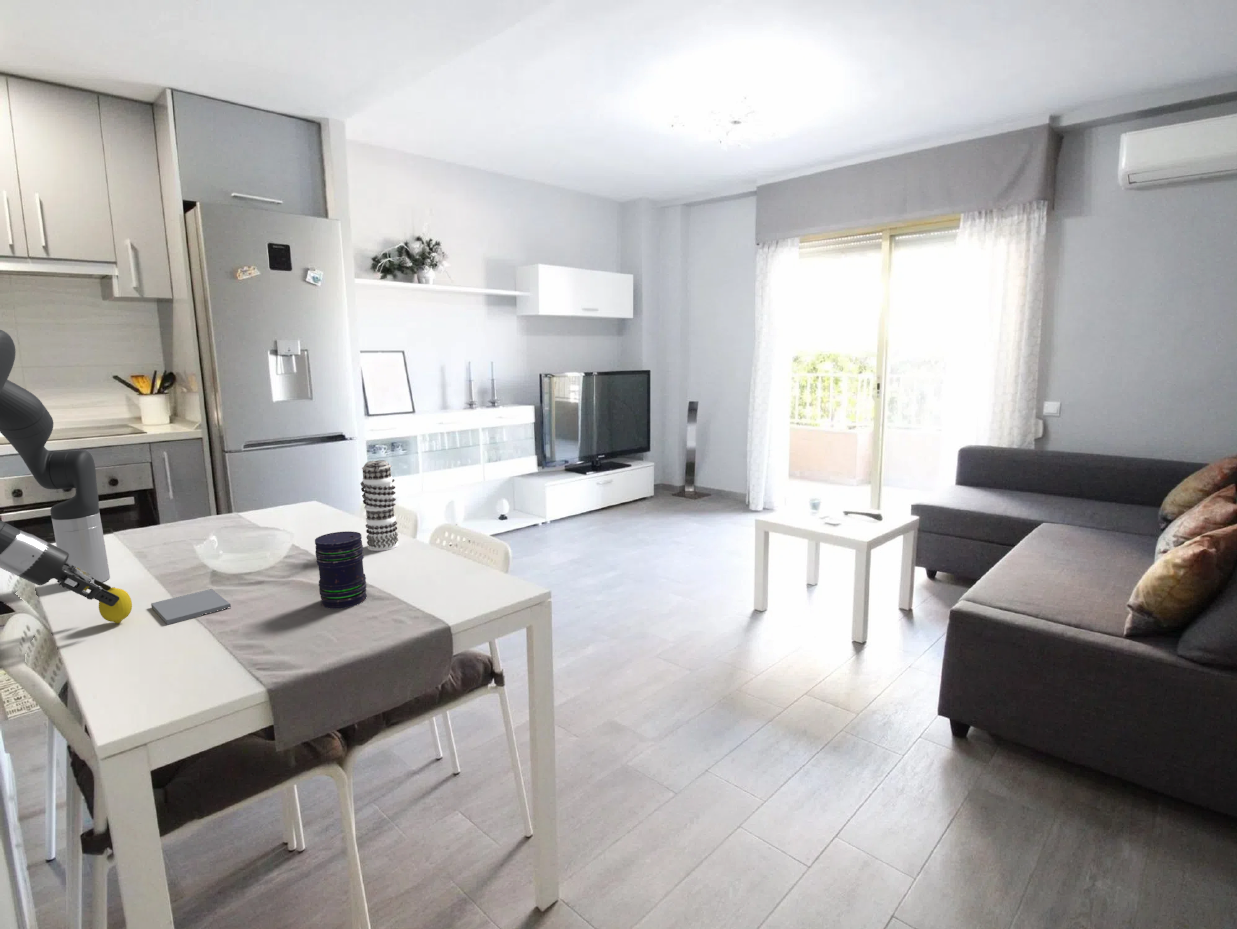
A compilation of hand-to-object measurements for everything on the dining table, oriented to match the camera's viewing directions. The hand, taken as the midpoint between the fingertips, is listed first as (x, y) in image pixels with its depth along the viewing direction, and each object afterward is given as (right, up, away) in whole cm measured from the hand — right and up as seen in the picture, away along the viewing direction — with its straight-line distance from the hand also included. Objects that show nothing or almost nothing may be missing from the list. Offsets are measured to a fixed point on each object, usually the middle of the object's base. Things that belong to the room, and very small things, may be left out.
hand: (112, 597), depth 138 cm
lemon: (0, -6, +1) cm, 6 cm away
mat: (+11, -4, +9) cm, 15 cm away
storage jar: (+44, -3, +12) cm, 46 cm away
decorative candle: (+38, +4, +53) cm, 65 cm away
